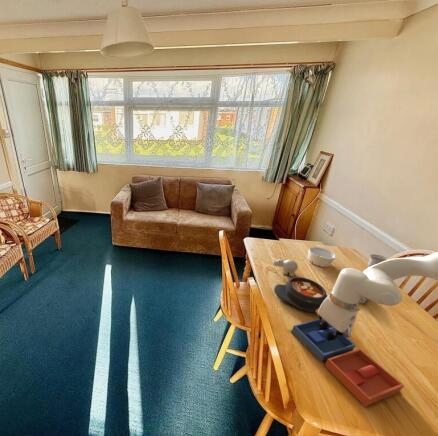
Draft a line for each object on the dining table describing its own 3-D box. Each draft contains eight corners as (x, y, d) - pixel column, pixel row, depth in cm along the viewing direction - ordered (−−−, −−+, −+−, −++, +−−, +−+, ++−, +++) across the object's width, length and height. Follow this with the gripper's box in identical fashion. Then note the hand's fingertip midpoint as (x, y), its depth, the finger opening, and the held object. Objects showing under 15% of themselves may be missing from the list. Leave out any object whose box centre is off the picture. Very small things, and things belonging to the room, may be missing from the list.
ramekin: (309, 253, 148) (312, 244, 146) (334, 262, 140) (338, 252, 137) (303, 261, 140) (306, 252, 137) (328, 271, 131) (333, 261, 129)
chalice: (359, 289, 118) (374, 260, 111) (354, 281, 124) (367, 253, 116) (377, 292, 116) (393, 263, 108) (371, 284, 121) (385, 256, 114)
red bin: (399, 392, 74) (404, 385, 72) (365, 406, 70) (369, 399, 69) (355, 354, 85) (359, 348, 84) (324, 365, 82) (327, 358, 80)
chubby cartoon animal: (273, 264, 137) (276, 252, 134) (296, 272, 130) (300, 260, 127) (270, 270, 132) (273, 258, 129) (293, 278, 125) (298, 266, 122)
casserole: (274, 305, 107) (279, 292, 104) (272, 281, 123) (276, 269, 119) (339, 323, 98) (346, 309, 95) (327, 295, 114) (333, 282, 110)
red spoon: (365, 367, 81) (368, 361, 79) (378, 378, 77) (382, 372, 76) (341, 375, 78) (344, 370, 77) (354, 387, 74) (357, 382, 73)
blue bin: (352, 351, 87) (355, 345, 85) (321, 361, 83) (324, 355, 81) (319, 323, 98) (322, 317, 97) (291, 331, 94) (293, 325, 93)
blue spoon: (327, 329, 93) (330, 324, 91) (337, 338, 89) (340, 332, 88) (306, 336, 90) (308, 330, 89) (315, 345, 86) (317, 339, 85)
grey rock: (362, 305, 108) (365, 299, 106) (343, 295, 114) (346, 289, 112) (371, 297, 113) (374, 290, 111) (353, 288, 119) (356, 282, 117)
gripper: (376, 315, 76) (355, 352, 84) (329, 283, 91) (314, 317, 98) (359, 320, 74) (339, 357, 82) (314, 287, 89) (300, 321, 96)
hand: (326, 335), depth 90 cm, fingers closed on blue spoon, 3 cm apart
